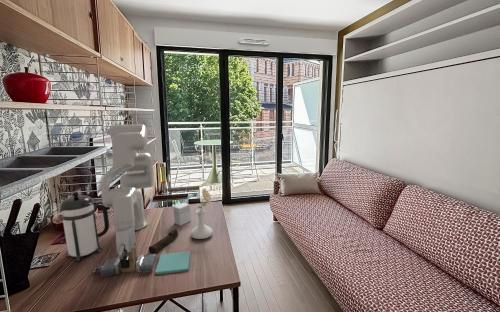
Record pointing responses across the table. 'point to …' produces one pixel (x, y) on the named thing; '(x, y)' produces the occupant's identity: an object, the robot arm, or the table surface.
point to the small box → (182, 213)
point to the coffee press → (81, 225)
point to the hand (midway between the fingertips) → (129, 260)
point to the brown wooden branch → (163, 241)
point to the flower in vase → (202, 229)
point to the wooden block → (131, 260)
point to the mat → (173, 262)
